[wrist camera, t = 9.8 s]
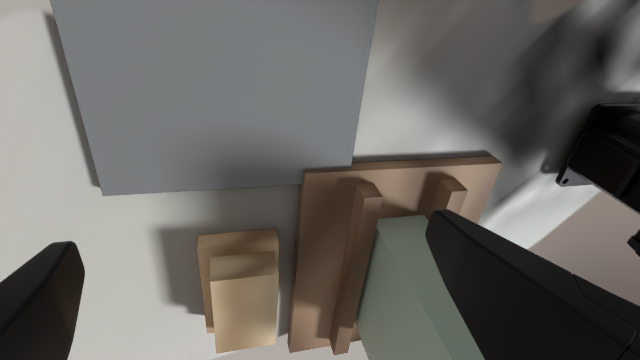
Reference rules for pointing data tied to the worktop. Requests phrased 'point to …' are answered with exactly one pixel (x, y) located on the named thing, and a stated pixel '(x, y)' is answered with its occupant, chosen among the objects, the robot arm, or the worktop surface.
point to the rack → (366, 232)
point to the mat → (216, 88)
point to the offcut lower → (224, 247)
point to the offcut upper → (244, 300)
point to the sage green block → (409, 300)
